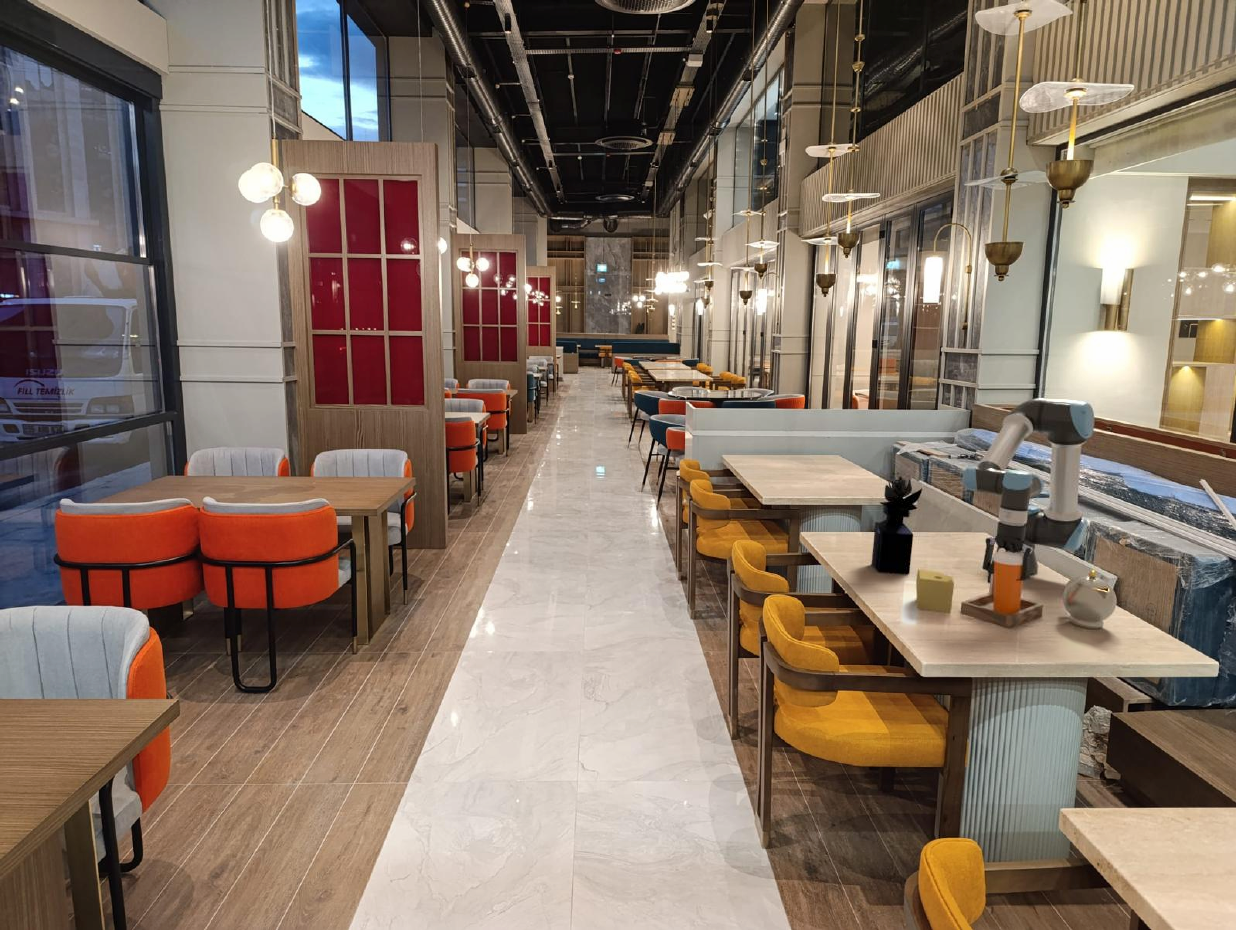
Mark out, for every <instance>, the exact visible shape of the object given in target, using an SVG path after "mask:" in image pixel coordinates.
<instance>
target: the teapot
mask: <svg viewBox="0 0 1236 930" xmlns="http://www.w3.org/2000/svg"><path fill="white" fill-rule="evenodd" d="M1097 576H1098V573H1097V572H1096V571H1095V570H1091V571H1089V572H1088V575H1085V576H1084V575H1083V576H1082V575H1081V576H1079V577H1076V578H1072V579H1070V580H1068V581H1067V582H1066V584H1065V586H1064V587H1065V588H1064V590H1063V593H1062V602H1063V606H1064V609H1066V612H1067V613H1068V614H1069V616H1068V621H1069V622H1070V623H1071V624H1072V625H1075V626H1077V627H1080V628H1085V629H1089V630H1092V629H1093V630H1096V629H1097V630H1098V629H1101V628H1103V626H1104V621H1105V620H1107V619H1108V618H1110V616H1112V615H1113V614H1114V612H1115V610H1116V608H1117V596H1116V592H1115V591H1114V589H1113V588H1112V586H1111V584H1109V583H1108V582H1107V581H1105V580H1104V579H1101V578H1100V577H1097Z"/></svg>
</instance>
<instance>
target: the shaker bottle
mask: <svg viewBox="0 0 1236 930" xmlns="http://www.w3.org/2000/svg"><path fill="white" fill-rule="evenodd" d="M996 550H998V551H997V552H996V551H995V552H993V555H992V558H993V561H994V598H993V610H994V611H996V612H1000V613H1003V614H1006V615H1011V614H1013V613H1016V612H1019V611H1020V603H1021V598H1022V594H1023V593H1022V592H1023V585H1024V580H1023V581H1020V580H1021V576H1022V569H1023V556H1024V554H1023V548H1022V549H1020V550H1019V552H1015V553H1012V552H1010V551H1008V550H1011V549H1008V548H1004V547H999V546H998V545H997V546H996ZM1019 578H1020V580H1019V581H1017V579H1019Z"/></svg>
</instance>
